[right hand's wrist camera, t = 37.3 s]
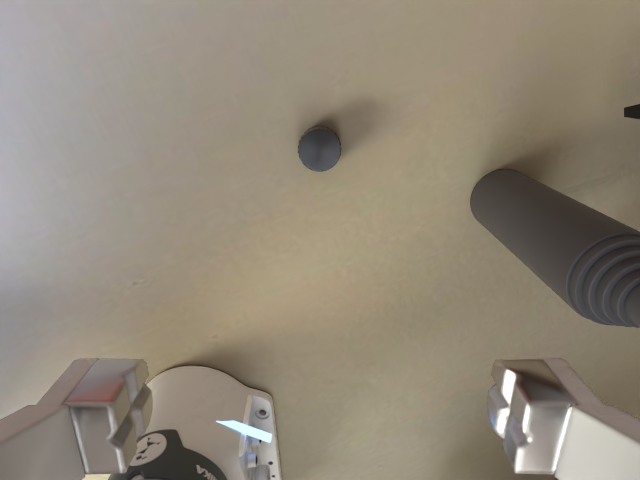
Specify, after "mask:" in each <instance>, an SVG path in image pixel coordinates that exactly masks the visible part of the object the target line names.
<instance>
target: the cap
mask: <svg viewBox="0 0 640 480" xmlns="http://www.w3.org/2000/svg"><path fill="white" fill-rule="evenodd" d="M299 143H300V144H299V146H298V148H299V149H298V150H299V151H298V153H299V157H300V159H301V161H302V163H303V164H304V165H305V166H306V167H307V168H309V169H311V170H313V171H326V170H328V169H330V168H332V167H333V166H334V165H335V164H336V163H337V161H338V160H339V157H340V155H341V154H340V153H341V147H340V145H341V144H340V142H339V138H338V137H337V136H336V133H334V132H333V131H332V130H330V129H329V128H328V127H327V128H326V127H324V126H323V127H321V126H318V127H313V128H311V129H308V130H307V131H306V132H305V133H304V135H302V137H301V140H300V141H299Z"/></svg>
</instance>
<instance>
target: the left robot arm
mask: <svg viewBox="0 0 640 480" xmlns="http://www.w3.org/2000/svg"><path fill="white" fill-rule="evenodd" d="M624 117H629V118H636V119H640V104H638V105H634V106H630V107H626V108H624Z"/></svg>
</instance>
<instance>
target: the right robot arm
mask: <svg viewBox="0 0 640 480" xmlns="http://www.w3.org/2000/svg"><path fill="white" fill-rule="evenodd" d="M148 376H149V372H148V367H147V363H146V362H145V361H144V360H143V359H98V358H80V359H77V360H74V362H73V363H72V364H71V365H70V366H69V367H68V368H67V370H66V371H65V372H64V373H63V374H62V375H61V376H60V378H59V379H58V380H57V381H56V382H55V383H54V385H53V386H52V387H51V388H50V389H49V390H48V391H47V393H46V394H45V395H44V396H43V397H42V398H41V400H40V401H39V402H38V403H37V404H36V405H28V406H26V407H24V408H22V409H20V410H18V411H16V412H15V413H13V414H11V415H9V416H7V417H5V418H3V419H1V420H0V480H82V479H83V478H84V477H85V474H111V475H110V477H109V479H108V480H282V474H281V465H280V457H279V448H278V440H277V431H276V422H275V414H274V405H273V399H272V397H271V396H270V395H269V394H268V393H266V392H263V391H260V390H257V389H253V388H249V387H247V386H245V385H243V384H242V383H240V382H239V381H237V380H236V379H234V378H233V377H231V376H230V375H228V374H226V373H224V372H221V371H219V370H216V369H212V368H208V367H202V366H182V367H177V368H173V369H170V370H167V371H164V372H162V373H160V374H159V375H157V376H156V377H154V378H153V379H152V380H151V381H150V382H149V383H148V384H147V385H146V384H145V381H146V379H147V377H148ZM491 376H492V377H493V379H494V381H495V384H494V385H493V386H492V387H491V388H490V389H489V390H488V398H487V409H488V416H489V420H490V423H491V426H492V428H493V430H494V432H495V433H496V434H497V435H499V436H500V437H501V438H503V439H504V442H503V448H502V449H503V451H504V453H505V455H506V457H507V459H508V461H509V463H510V465H511V467H512V469H513V471H514V473H524V474H555V477H556V478H557V479H558V480H640V420H639V419H637V418H635V417H633V416H631V415H629V414H627V413H625V412H623V411H622V410H620V409H618V408H616V407H614V406H612V405H604V404H603V403H602V402H601V401H600V400H599V398H598V397H597V396H596V395H595V394H594V393H593V392H592V390H591V389H590V388H589V387H588V386H587V385H586V383H585V382H584V381H583V380H582V379H581V378H580V377H579V375H578V374H577V373H576V372H575V371H574V370H573V368H572V367H571V366H570V365H569V364H568V363H567V362H566V361H565V360H563V359H561V358H550V359H532V360H495V362H494V364H493V366H492V372H491ZM261 410H265V411H261Z"/></svg>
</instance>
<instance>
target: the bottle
mask: <svg viewBox="0 0 640 480" xmlns="http://www.w3.org/2000/svg"><path fill="white" fill-rule="evenodd" d="M470 204H471V210H472V213H473V215H474V217H475V218H476V219H477V220H478V221H479V222H480V223H481V224H482V225H483V226H484V227H485V228H486V229H487V230H488V231H490V232H491V233H492V234H493V235H494V236H495V237H496V238H497V239H498V240H499V241H500V242H501V243H502V244H504V245H505V246H506V247H507V248H508V249H509V250H510V251H511V252H512V253H513V254H514V255H515V256H516V257H518V258H519V259H520V260H521V261H522V262H523V263H524V264H525V265H526V266H527V267H528V268H529V269H531V270H532V271H533V272H534V273H535V274H536V275H537V276H538V277H539V278H540V279H541V280H542V281H543V282H545V283H546V284H547V285H548V286H549V287H550V288H551V289H552V290H553V291H554V292H555V293H556V294H557V295H559V296H560V297H561V298H562V299H563V300H564V301H565V302H566V303H567V304H568V305H569V306H570V307H571V308H573V309H574V310H575V311H576V312H577V313H578V314H580V315H581V316H583V317H585V318H587V319H590V320H592V321H594V322H597V323H600V324H604V325H616V326H626V327H637V328H640V232H639V231H636V230H634V229H632V228H630V227H628V226H626V225H624V224H622V223H620V222H618V221H616V220H614V219H612V218H610V217H608V216H606V215H604V214H602V213H600V212H598V211H596V210H594V209H592V208H590V207H588V206H586V205H584V204H582V203H580V202H578V201H576V200H574V199H572V198H570V197H568V196H566V195H564V194H562V193H560V192H558V191H556V190H554V189H552V188H550V187H548V186H546V185H543V184H541V183H539V182H537V181H535V180H533V179H531V178H529V177H527V176H525V175H523V174H521V173H519V172H517V171H514V170H510V169H500V170H496V171H493V172H491V173H489V174H487V175H486V176H484V177H483V178H482V179H481V180H480V181H479V182H478V183H477V184H476V186H475V188H474V190H473V192H472V195H471V201H470Z"/></svg>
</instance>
